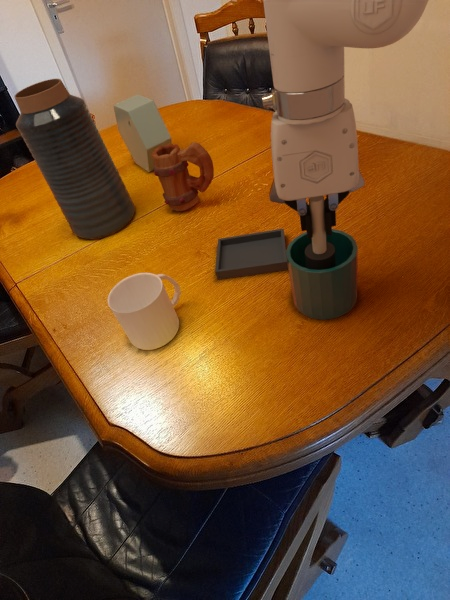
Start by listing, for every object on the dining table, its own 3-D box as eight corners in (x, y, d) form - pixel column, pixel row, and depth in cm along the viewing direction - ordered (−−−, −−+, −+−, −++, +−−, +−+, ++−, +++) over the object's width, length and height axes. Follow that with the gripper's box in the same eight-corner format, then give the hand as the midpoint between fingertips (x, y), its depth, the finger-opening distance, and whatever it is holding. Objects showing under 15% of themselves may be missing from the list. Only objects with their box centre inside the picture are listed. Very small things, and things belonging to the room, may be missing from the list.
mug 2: (160, 214, 97) (137, 156, 87) (174, 196, 102) (154, 138, 92) (215, 215, 92) (198, 153, 81) (227, 195, 97) (212, 134, 86)
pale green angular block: (172, 172, 123) (171, 123, 103) (150, 183, 120) (145, 135, 101) (142, 132, 126) (136, 77, 106) (120, 142, 124) (110, 88, 104)
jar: (350, 272, 69) (350, 223, 62) (362, 315, 62) (363, 266, 55) (291, 280, 71) (284, 234, 64) (295, 323, 64) (288, 276, 57)
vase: (118, 241, 93) (46, 99, 71) (62, 241, 99) (-20, 109, 77) (147, 201, 103) (92, 67, 82) (94, 203, 109) (30, 78, 88)
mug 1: (145, 360, 65) (122, 322, 59) (121, 332, 71) (98, 294, 65) (203, 318, 69) (188, 278, 63) (176, 294, 75) (159, 256, 69)
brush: (333, 263, 65) (330, 186, 55) (337, 282, 62) (335, 203, 52) (305, 267, 65) (298, 191, 56) (308, 286, 62) (301, 209, 53)
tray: (284, 236, 80) (283, 228, 79) (288, 270, 73) (286, 261, 72) (220, 246, 83) (217, 238, 81) (217, 279, 76) (214, 271, 74)
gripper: (238, 125, 44) (263, 256, 56) (393, 93, 41) (382, 239, 54) (240, 100, 49) (262, 225, 62) (376, 71, 46) (370, 208, 59)
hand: (318, 230), depth 58 cm, fingers closed on brush, 2 cm apart
